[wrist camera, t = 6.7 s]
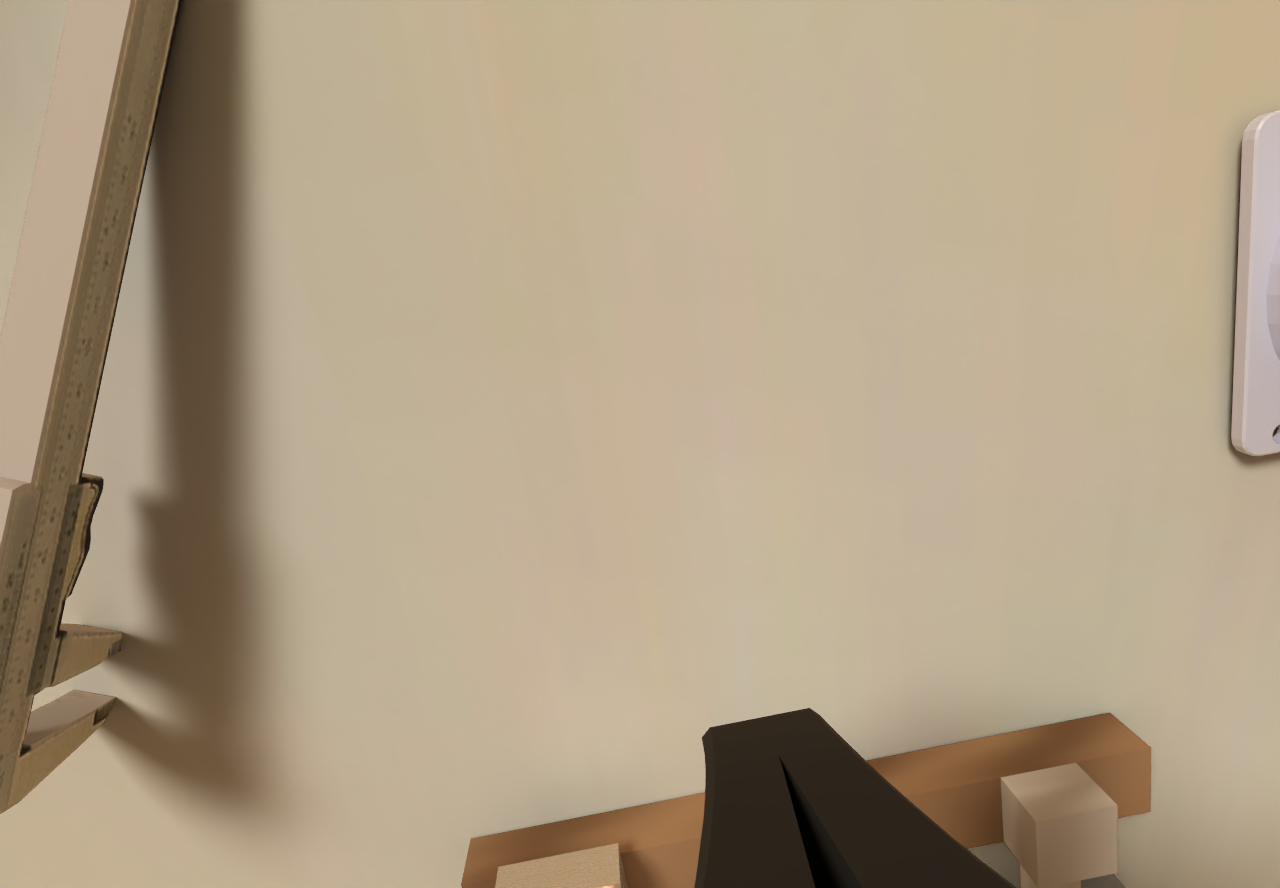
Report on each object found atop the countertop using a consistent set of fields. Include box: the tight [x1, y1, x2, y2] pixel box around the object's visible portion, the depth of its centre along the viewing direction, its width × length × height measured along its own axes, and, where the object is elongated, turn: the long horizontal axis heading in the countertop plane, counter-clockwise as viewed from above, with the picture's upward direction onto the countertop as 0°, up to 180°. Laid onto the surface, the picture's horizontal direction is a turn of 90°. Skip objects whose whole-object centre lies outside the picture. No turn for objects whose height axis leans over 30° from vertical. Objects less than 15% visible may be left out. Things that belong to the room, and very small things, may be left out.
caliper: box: [0, 0, 182, 814], centre depth 13 cm, size 20×1×6 cm, turn 166°
